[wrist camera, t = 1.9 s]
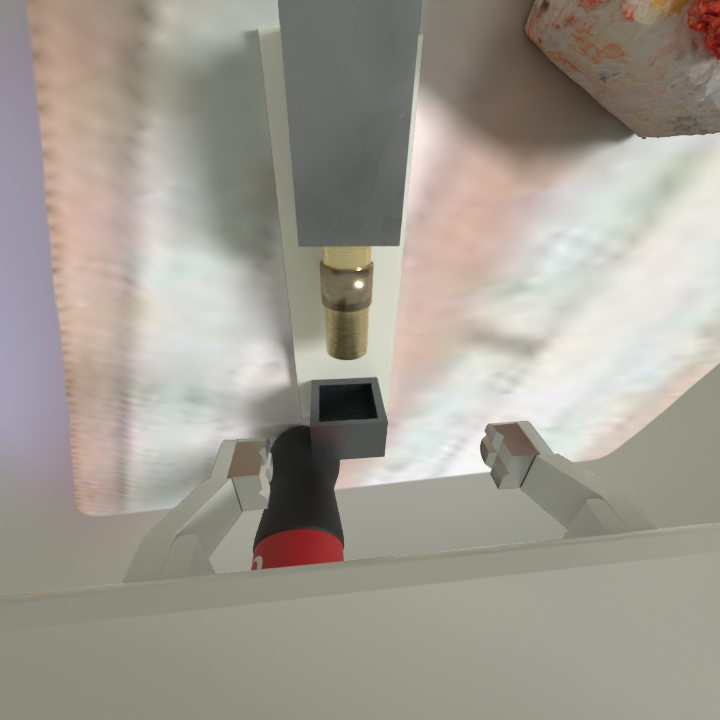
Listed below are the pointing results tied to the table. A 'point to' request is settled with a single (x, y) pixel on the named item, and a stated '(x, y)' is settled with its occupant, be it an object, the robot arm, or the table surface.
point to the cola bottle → (299, 508)
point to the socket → (347, 419)
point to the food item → (638, 59)
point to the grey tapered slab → (349, 116)
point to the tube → (346, 299)
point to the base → (306, 260)
